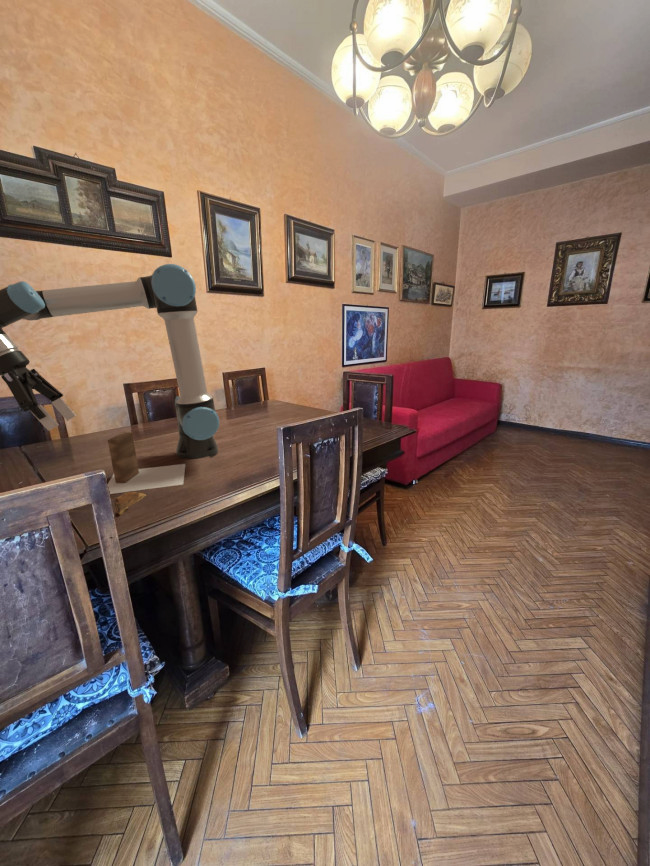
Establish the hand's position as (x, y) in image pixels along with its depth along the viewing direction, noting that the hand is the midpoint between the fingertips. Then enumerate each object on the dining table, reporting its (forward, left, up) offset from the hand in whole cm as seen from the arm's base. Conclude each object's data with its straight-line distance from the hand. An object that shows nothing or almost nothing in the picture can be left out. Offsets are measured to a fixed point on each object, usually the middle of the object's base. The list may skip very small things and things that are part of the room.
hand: (63, 422), depth 99 cm
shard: (-17, +14, -22) cm, 31 cm away
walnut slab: (-13, -3, -20) cm, 24 cm away
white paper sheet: (-19, -1, -21) cm, 28 cm away
